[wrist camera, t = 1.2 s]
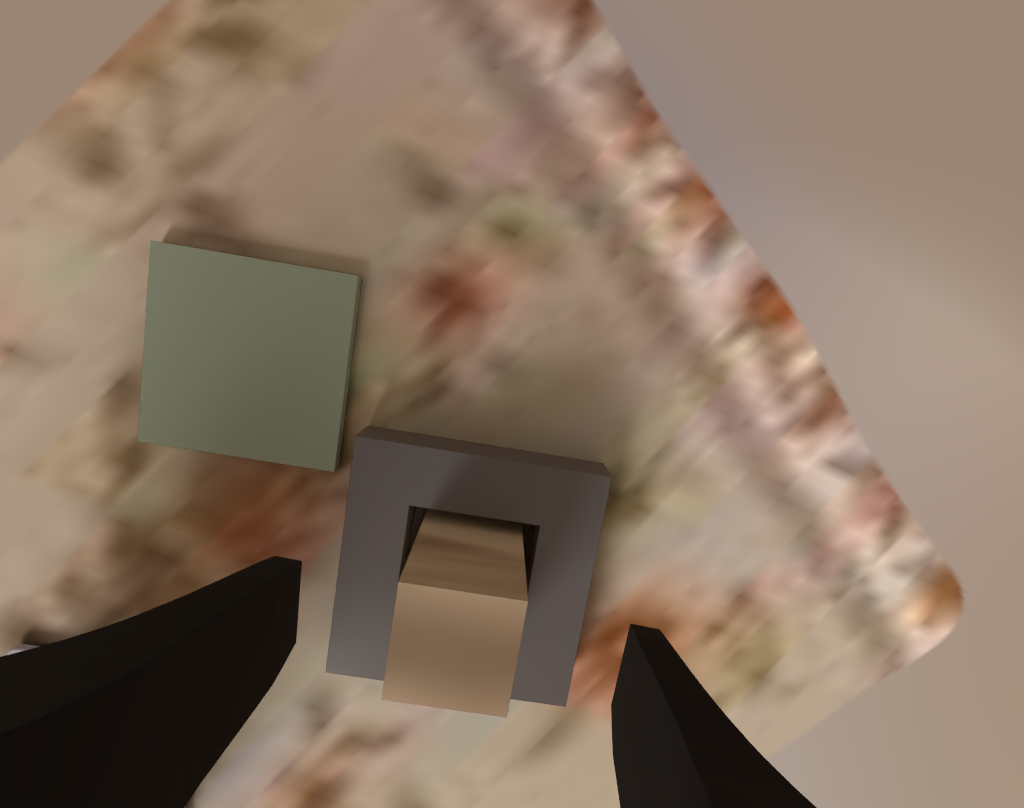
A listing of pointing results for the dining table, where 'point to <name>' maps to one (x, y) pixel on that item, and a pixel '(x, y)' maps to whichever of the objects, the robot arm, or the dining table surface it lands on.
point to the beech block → (459, 615)
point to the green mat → (246, 356)
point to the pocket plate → (480, 492)
